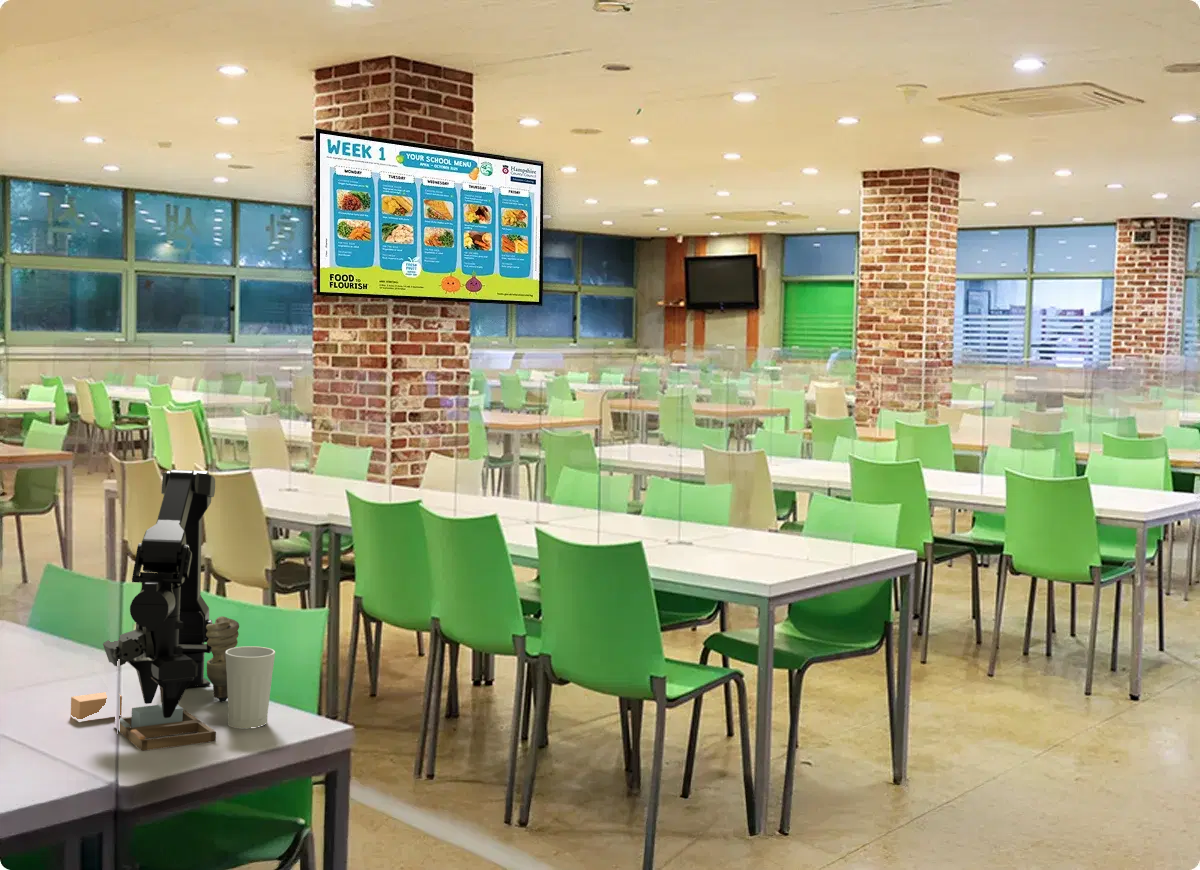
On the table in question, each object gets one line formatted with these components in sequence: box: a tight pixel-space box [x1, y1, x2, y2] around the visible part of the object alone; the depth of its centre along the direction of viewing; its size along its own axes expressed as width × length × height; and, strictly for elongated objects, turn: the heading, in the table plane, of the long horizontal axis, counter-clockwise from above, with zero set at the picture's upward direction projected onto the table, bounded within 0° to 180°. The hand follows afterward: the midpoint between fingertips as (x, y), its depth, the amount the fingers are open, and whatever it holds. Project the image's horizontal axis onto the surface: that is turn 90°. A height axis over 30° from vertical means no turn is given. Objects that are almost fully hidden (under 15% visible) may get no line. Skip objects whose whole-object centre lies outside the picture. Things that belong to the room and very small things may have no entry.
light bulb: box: [206, 615, 240, 703], centre depth 235 cm, size 6×6×15 cm
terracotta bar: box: [70, 691, 123, 719], centre depth 222 cm, size 4×7×4 cm, turn 132°
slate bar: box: [131, 703, 184, 728], centre depth 217 cm, size 4×7×4 cm, turn 128°
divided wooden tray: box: [119, 709, 217, 752], centre depth 214 cm, size 14×12×2 cm
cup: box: [225, 645, 276, 729], centre depth 222 cm, size 8×8×12 cm
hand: (157, 710), depth 217 cm, fingers open, 9 cm apart
